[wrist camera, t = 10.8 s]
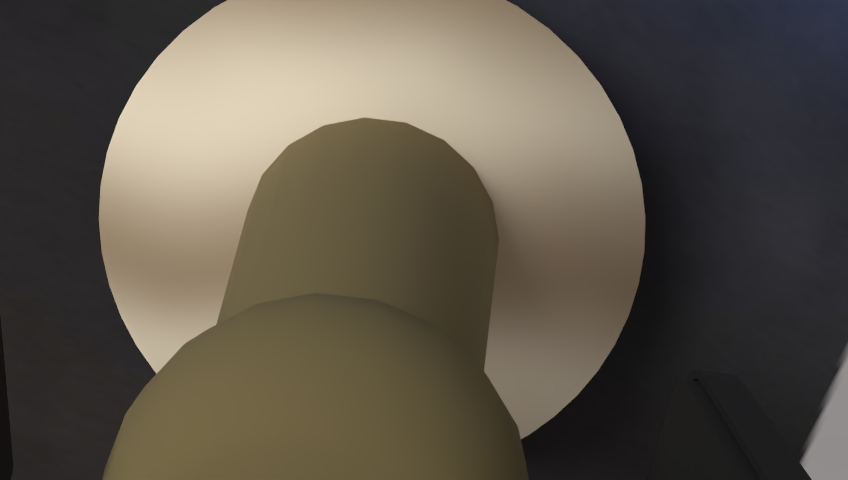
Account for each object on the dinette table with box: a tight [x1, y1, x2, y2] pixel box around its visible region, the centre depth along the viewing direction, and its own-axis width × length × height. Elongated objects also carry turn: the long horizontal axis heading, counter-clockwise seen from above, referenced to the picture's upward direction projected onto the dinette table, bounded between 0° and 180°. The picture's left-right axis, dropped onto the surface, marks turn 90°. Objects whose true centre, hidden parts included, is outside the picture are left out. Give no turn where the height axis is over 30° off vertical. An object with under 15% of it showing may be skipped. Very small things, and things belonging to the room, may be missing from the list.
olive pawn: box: [102, 117, 529, 480], centre depth 13 cm, size 6×6×11 cm
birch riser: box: [99, 0, 645, 439], centre depth 20 cm, size 13×13×4 cm
